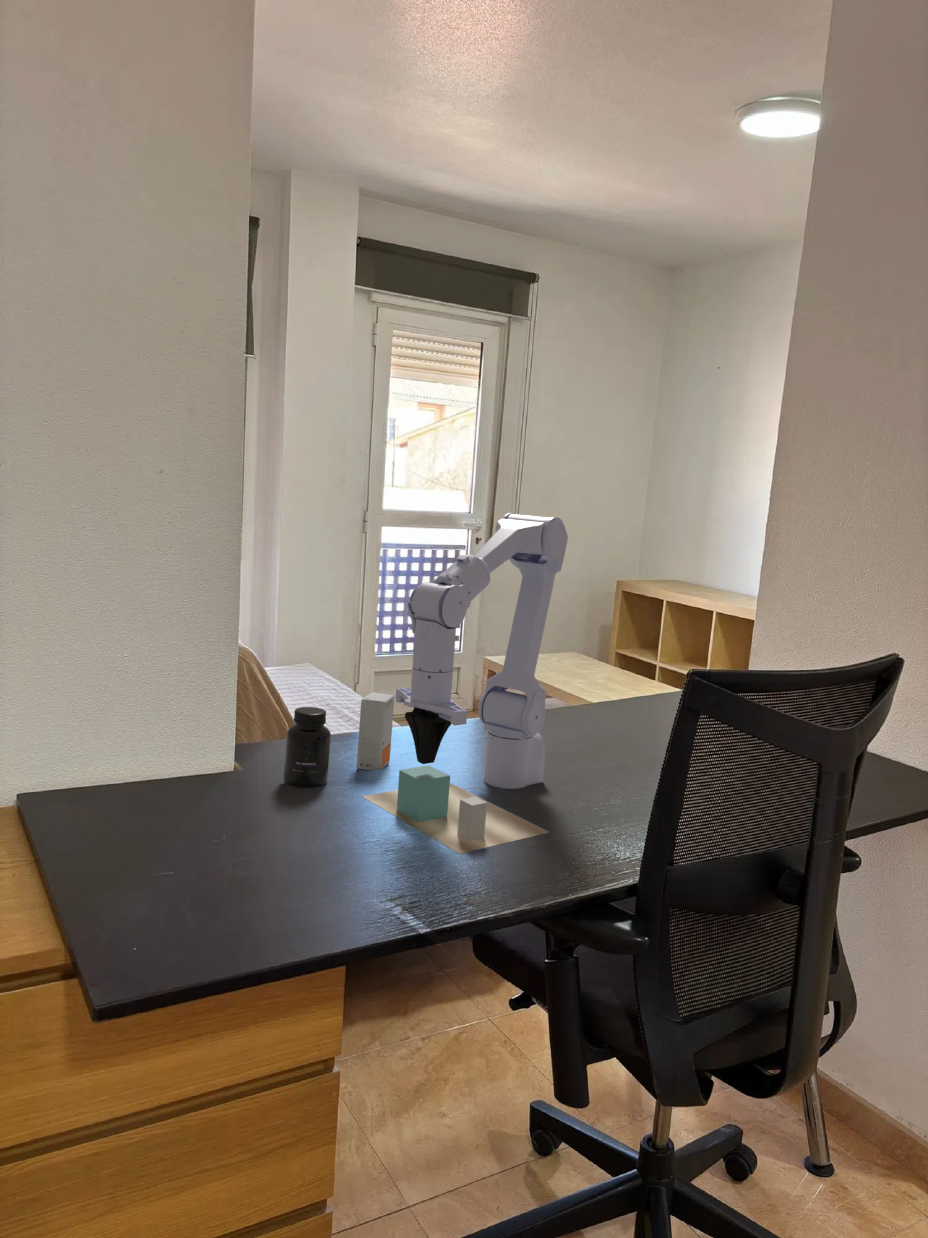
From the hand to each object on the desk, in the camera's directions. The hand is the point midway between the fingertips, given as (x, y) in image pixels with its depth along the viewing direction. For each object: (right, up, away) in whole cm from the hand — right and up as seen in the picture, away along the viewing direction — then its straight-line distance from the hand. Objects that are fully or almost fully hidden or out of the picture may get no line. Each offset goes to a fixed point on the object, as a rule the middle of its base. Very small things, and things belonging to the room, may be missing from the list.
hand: (425, 762), depth 130 cm
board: (+4, -9, +2) cm, 10 cm away
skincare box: (-10, -5, +24) cm, 26 cm away
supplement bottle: (-19, -6, +12) cm, 23 cm away
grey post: (+6, -9, -6) cm, 13 cm away
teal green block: (-1, -8, +1) cm, 8 cm away
